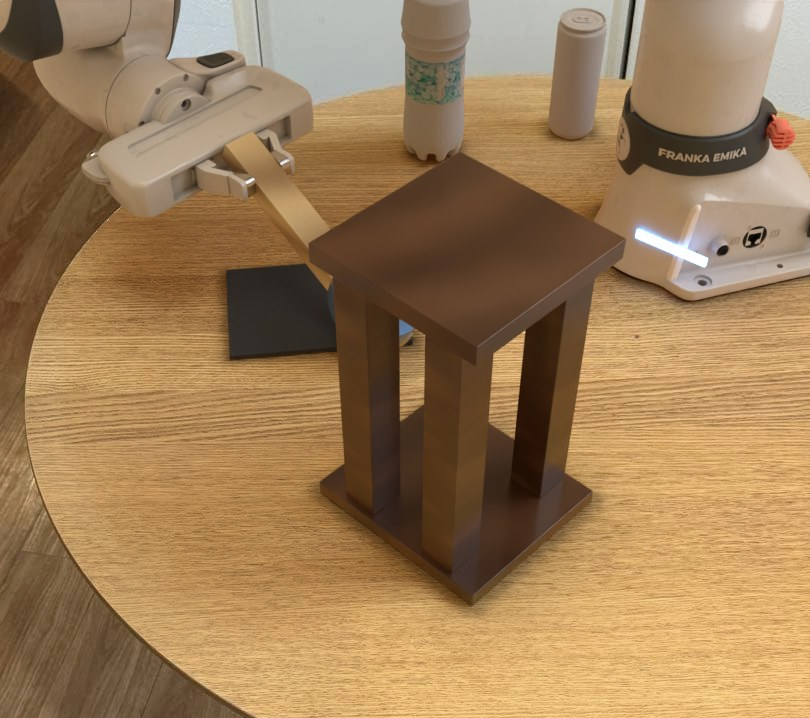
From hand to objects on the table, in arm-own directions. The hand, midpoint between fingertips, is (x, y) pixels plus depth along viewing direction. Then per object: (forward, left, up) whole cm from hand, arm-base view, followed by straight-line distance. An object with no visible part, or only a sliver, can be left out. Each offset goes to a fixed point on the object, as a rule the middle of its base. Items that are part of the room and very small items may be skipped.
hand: (269, 179), depth 98 cm
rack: (-12, +27, -11) cm, 32 cm away
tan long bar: (-3, +4, -5) cm, 7 cm away
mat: (-3, +3, -11) cm, 12 cm away
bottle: (-17, -21, -12) cm, 29 cm away
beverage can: (-32, -23, -12) cm, 41 cm away
